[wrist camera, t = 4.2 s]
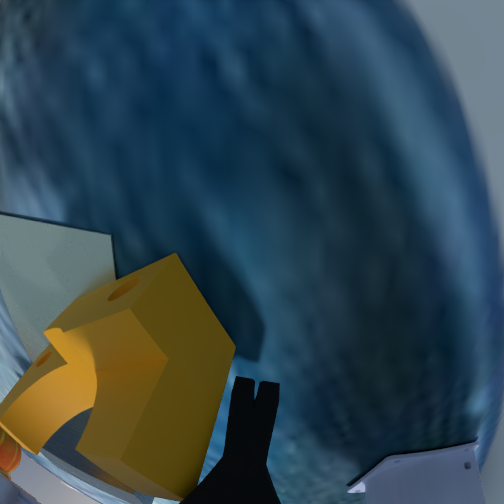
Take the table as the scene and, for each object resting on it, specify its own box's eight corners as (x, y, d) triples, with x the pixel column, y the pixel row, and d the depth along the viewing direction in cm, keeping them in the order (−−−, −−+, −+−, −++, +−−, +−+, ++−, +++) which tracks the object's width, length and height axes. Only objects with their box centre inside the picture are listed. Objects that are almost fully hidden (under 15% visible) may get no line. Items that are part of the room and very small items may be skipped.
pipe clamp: (175, 252, 9) (57, 407, 4) (235, 346, 11) (192, 503, 5) (31, 322, 13) (-31, 391, 7) (73, 376, 14) (25, 448, 9)
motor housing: (112, 234, 10) (17, 313, 5) (165, 465, 19) (149, 510, 15) (-36, 206, 11) (-92, 239, 6) (51, 415, 20) (31, 449, 16)
